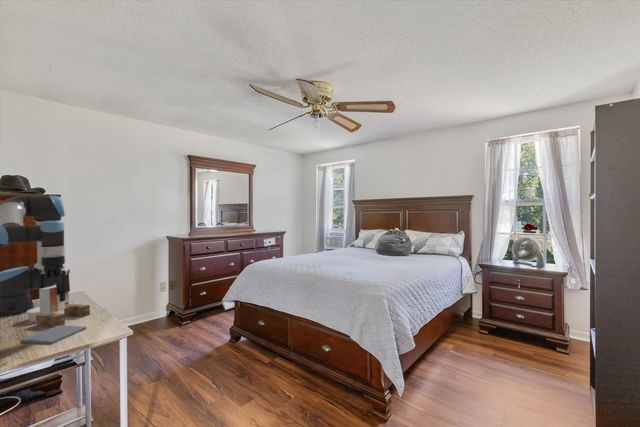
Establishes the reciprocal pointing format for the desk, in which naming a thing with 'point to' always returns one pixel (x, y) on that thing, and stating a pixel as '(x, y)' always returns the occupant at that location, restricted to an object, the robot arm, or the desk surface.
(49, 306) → the small box
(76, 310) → the walnut crossbar stand
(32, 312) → the ramekin
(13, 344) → the desk surface
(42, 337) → the slate grey mat
